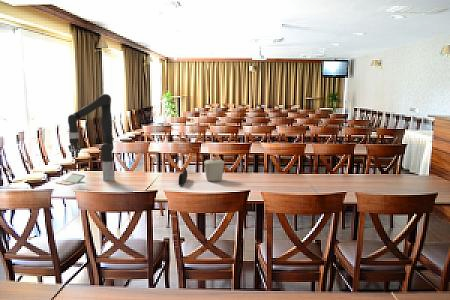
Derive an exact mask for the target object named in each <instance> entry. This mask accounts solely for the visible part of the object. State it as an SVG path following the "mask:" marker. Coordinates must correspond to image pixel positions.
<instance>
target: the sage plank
mask: <svg viewBox="0 0 450 300" xmlns="http://www.w3.org/2000/svg"><path fill="white" fill-rule="evenodd" d="M85 177H86V176H85V175H84V174H79V173H71V174H70V175H69V176H68V177H67V178H66V179H64V180H65V181H70V182H75V183H76V184H78V183H79V184H80V182H81V181H82V180H83V179H84V178H85Z"/></svg>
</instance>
